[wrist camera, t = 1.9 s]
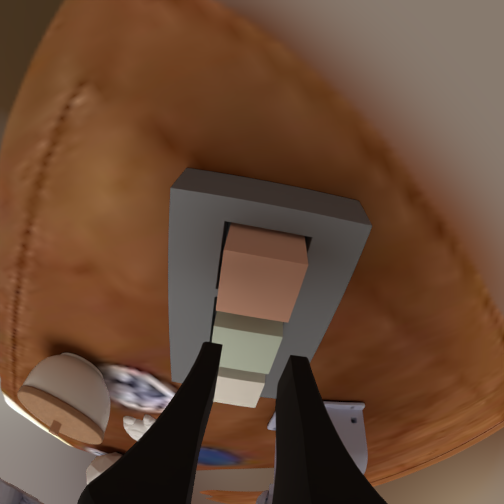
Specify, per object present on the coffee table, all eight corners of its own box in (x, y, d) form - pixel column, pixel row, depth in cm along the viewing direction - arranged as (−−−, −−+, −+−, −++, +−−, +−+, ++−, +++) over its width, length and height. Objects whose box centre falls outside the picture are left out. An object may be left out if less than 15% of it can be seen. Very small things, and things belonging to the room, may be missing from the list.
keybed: (358, 200, 17) (372, 226, 15) (289, 372, 27) (289, 400, 24) (186, 167, 17) (170, 187, 14) (179, 353, 26) (172, 381, 24)
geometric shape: (140, 437, 54) (167, 492, 43) (134, 469, 58) (158, 517, 46) (77, 440, 46) (96, 501, 34) (80, 473, 49) (99, 525, 37)
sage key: (282, 304, 19) (282, 337, 16) (270, 343, 21) (268, 374, 19) (220, 294, 19) (213, 325, 16) (215, 334, 21) (209, 364, 18)
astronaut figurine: (208, 438, 39) (205, 456, 36) (144, 435, 42) (140, 451, 39) (177, 412, 34) (173, 432, 32) (111, 410, 37) (105, 427, 35)
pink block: (304, 235, 16) (308, 264, 14) (287, 290, 18) (288, 322, 16) (231, 221, 16) (223, 249, 14) (222, 278, 18) (215, 310, 16)
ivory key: (266, 353, 21) (264, 383, 19) (257, 380, 24) (255, 407, 21) (214, 344, 21) (208, 374, 19) (210, 373, 23) (205, 400, 21)
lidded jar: (111, 354, 28) (79, 432, 20) (128, 401, 34) (108, 464, 26) (32, 327, 27) (-5, 391, 20) (59, 378, 33) (35, 433, 26)
